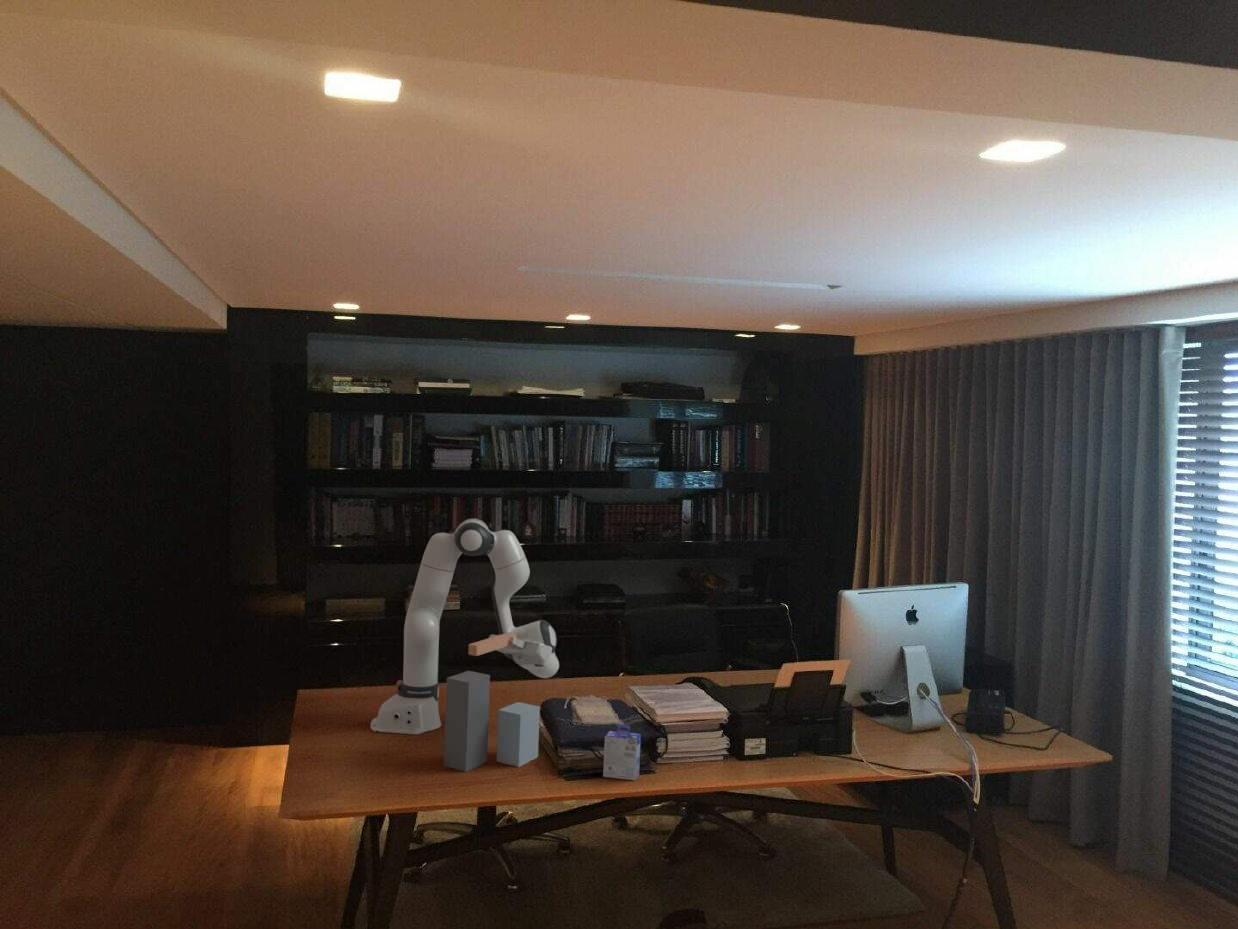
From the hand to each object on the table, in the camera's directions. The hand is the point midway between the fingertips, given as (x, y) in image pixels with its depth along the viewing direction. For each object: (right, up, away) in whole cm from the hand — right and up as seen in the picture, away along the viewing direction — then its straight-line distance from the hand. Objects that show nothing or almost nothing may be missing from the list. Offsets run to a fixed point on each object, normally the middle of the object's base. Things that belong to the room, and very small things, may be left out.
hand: (505, 638), depth 304 cm
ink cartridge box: (+35, -37, -18) cm, 54 cm away
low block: (+4, -35, -8) cm, 36 cm away
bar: (-3, -2, -5) cm, 7 cm away
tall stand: (-10, -34, -14) cm, 38 cm away
